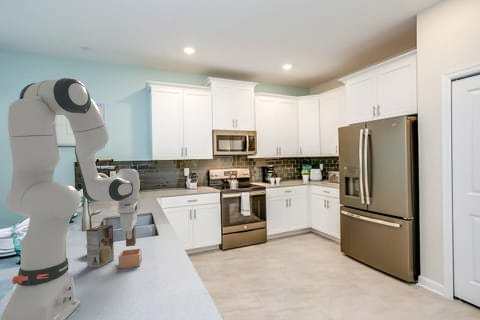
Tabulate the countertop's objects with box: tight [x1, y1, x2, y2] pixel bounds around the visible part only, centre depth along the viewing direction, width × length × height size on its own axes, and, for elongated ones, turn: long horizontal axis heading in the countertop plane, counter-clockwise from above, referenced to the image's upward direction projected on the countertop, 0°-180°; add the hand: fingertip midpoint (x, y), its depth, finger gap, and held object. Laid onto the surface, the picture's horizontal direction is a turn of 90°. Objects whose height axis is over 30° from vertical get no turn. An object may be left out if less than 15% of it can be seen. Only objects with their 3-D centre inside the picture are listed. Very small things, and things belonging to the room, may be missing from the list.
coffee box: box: [85, 224, 115, 268], centre depth 114 cm, size 9×6×16 cm
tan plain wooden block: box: [125, 224, 137, 247], centre depth 113 cm, size 4×4×8 cm
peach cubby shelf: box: [118, 248, 143, 269], centre depth 113 cm, size 8×8×5 cm
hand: (130, 236), depth 113 cm, fingers closed on tan plain wooden block, 3 cm apart
